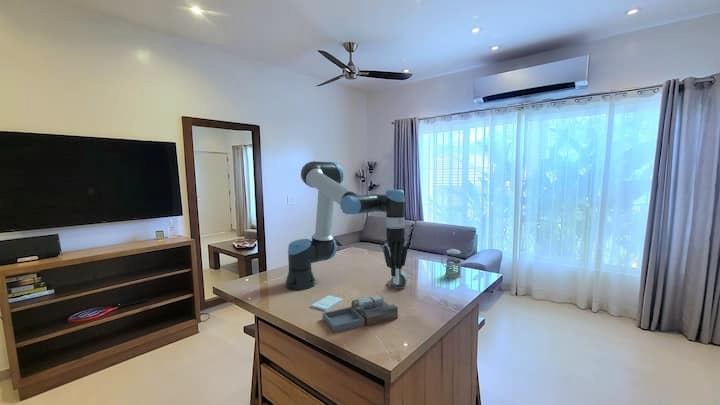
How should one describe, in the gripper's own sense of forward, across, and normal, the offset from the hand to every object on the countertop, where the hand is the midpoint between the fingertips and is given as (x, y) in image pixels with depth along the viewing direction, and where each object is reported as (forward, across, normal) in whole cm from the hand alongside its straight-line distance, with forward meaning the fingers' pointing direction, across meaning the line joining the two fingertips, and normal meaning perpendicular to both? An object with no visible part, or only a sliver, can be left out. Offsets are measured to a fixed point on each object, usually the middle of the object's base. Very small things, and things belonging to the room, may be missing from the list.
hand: (395, 283), depth 122 cm
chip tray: (+11, -24, 0) cm, 26 cm away
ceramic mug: (+11, +17, +24) cm, 32 cm away
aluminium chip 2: (+8, -9, 0) cm, 12 cm away
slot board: (+11, -10, 0) cm, 15 cm away
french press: (+12, +53, +24) cm, 59 cm away
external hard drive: (+12, -24, +20) cm, 33 cm away
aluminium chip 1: (+8, -14, 0) cm, 16 cm away
